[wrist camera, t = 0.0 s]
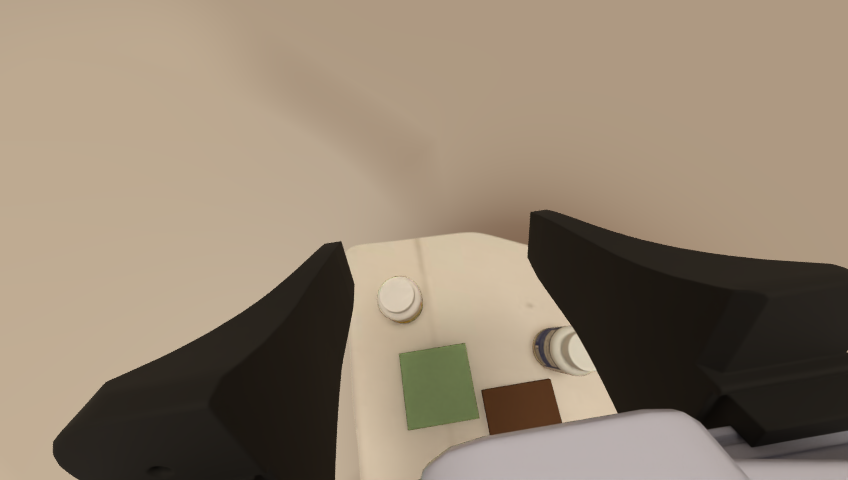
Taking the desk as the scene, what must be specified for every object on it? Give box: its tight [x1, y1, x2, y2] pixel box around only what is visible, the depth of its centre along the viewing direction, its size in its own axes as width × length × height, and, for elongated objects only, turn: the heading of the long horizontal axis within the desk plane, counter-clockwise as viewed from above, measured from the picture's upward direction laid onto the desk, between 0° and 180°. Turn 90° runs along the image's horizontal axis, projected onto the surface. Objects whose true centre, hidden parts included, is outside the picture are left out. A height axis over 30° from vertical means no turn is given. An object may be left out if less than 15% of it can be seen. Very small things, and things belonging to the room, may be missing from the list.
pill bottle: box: [533, 326, 597, 376], centre depth 35 cm, size 5×5×10 cm
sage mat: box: [399, 343, 479, 430], centre depth 39 cm, size 9×9×1 cm
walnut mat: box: [482, 379, 562, 435], centre depth 37 cm, size 9×9×1 cm
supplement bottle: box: [377, 276, 423, 323], centre depth 38 cm, size 5×5×10 cm
